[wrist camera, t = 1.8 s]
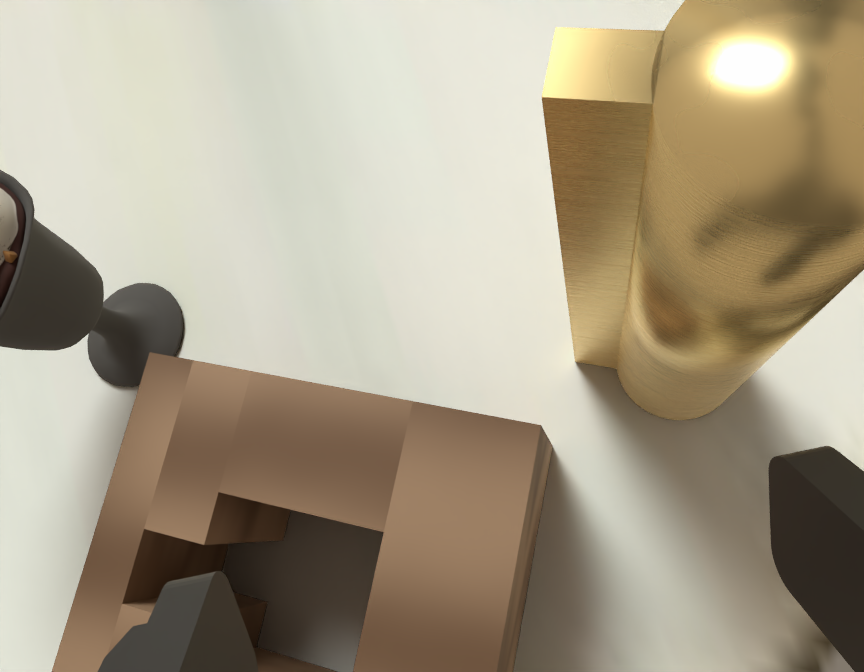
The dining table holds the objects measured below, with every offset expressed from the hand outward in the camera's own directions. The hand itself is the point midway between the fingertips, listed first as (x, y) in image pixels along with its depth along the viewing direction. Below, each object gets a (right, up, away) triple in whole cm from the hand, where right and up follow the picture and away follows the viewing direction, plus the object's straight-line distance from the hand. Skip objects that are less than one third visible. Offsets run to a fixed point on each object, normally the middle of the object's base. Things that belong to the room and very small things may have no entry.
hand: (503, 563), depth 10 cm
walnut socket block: (-5, -7, +17) cm, 19 cm away
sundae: (-15, +3, +22) cm, 27 cm away
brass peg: (+8, +2, +16) cm, 18 cm away
